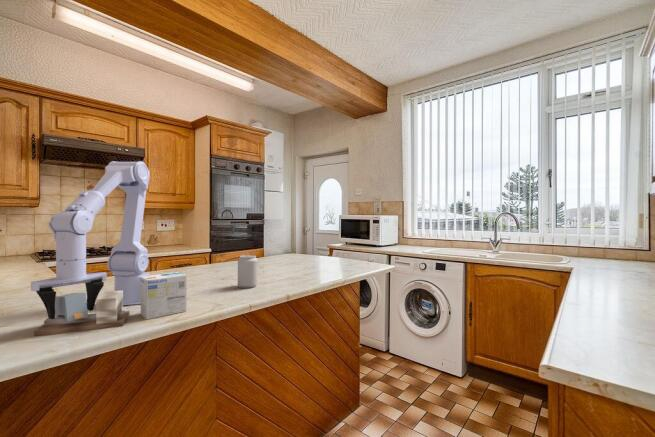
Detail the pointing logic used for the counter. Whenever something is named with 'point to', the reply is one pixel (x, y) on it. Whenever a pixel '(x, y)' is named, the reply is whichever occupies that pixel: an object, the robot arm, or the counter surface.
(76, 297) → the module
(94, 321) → the board
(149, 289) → the light bulb box
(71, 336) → the counter surface
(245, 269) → the can
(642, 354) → the counter surface
